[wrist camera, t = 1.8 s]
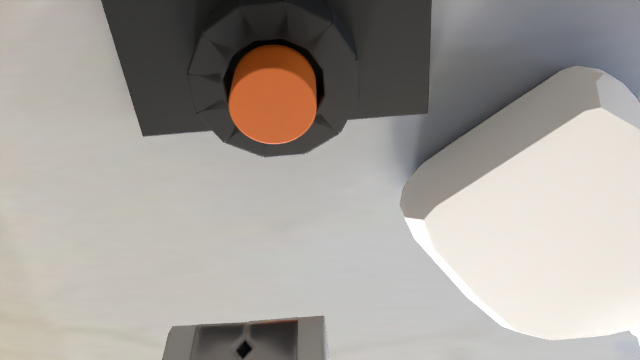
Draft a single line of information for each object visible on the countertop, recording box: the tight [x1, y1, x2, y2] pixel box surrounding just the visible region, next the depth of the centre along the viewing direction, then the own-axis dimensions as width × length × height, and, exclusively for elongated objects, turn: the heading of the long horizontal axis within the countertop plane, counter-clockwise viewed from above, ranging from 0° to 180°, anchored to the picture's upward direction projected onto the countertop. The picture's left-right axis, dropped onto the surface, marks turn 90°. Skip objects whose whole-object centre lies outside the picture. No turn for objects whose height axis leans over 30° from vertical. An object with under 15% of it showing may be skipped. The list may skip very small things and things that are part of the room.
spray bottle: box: [400, 66, 640, 345], centre depth 29 cm, size 3×11×24 cm
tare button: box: [228, 45, 317, 144], centre depth 19 cm, size 3×3×2 cm
